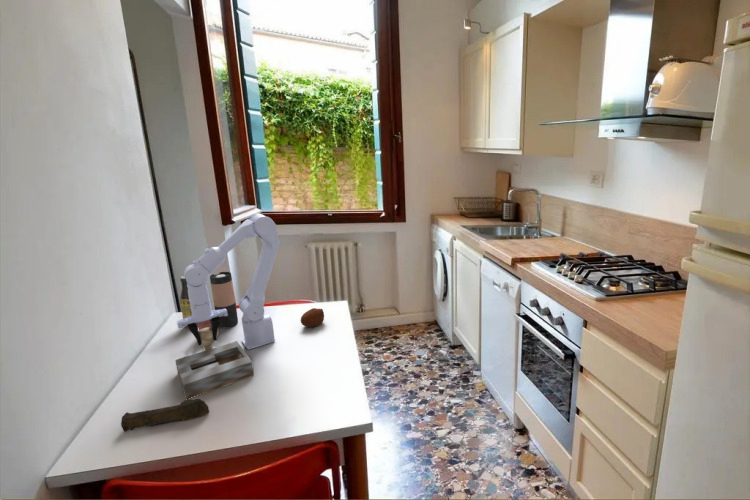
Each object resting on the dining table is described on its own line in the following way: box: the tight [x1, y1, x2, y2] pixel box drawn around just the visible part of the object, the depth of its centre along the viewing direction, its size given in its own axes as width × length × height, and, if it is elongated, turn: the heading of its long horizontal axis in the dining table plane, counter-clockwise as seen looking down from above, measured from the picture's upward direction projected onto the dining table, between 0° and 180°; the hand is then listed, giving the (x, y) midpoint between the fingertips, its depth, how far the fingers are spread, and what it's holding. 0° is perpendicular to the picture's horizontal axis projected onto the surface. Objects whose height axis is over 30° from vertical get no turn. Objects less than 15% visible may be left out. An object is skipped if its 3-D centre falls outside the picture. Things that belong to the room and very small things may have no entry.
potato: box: [300, 307, 325, 328], centre depth 140 cm, size 7×9×6 cm
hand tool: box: [120, 398, 210, 433], centre depth 92 cm, size 19×4×5 cm, turn 100°
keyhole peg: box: [198, 327, 215, 352], centre depth 122 cm, size 5×5×9 cm
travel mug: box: [209, 271, 239, 329], centre depth 143 cm, size 8×8×20 cm
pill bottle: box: [197, 305, 219, 336], centre depth 135 cm, size 6×6×11 cm
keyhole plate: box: [175, 340, 255, 400], centre depth 111 cm, size 18×16×4 cm
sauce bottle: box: [179, 275, 198, 329], centre depth 144 cm, size 6×6×20 cm
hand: (207, 341), depth 122 cm, fingers open, 4 cm apart
